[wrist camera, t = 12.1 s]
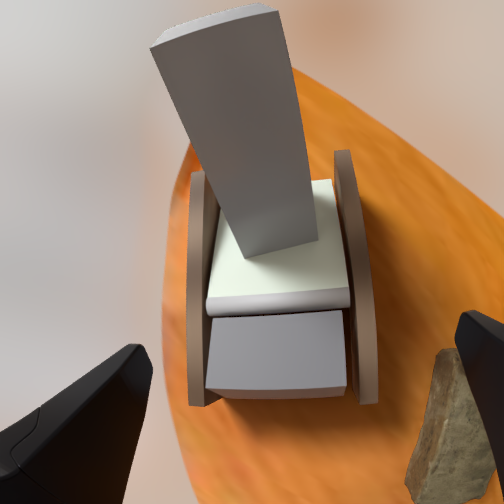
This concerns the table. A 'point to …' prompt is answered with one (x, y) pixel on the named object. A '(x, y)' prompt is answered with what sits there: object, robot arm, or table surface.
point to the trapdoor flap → (280, 326)
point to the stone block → (450, 441)
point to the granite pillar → (243, 122)
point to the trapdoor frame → (200, 323)
